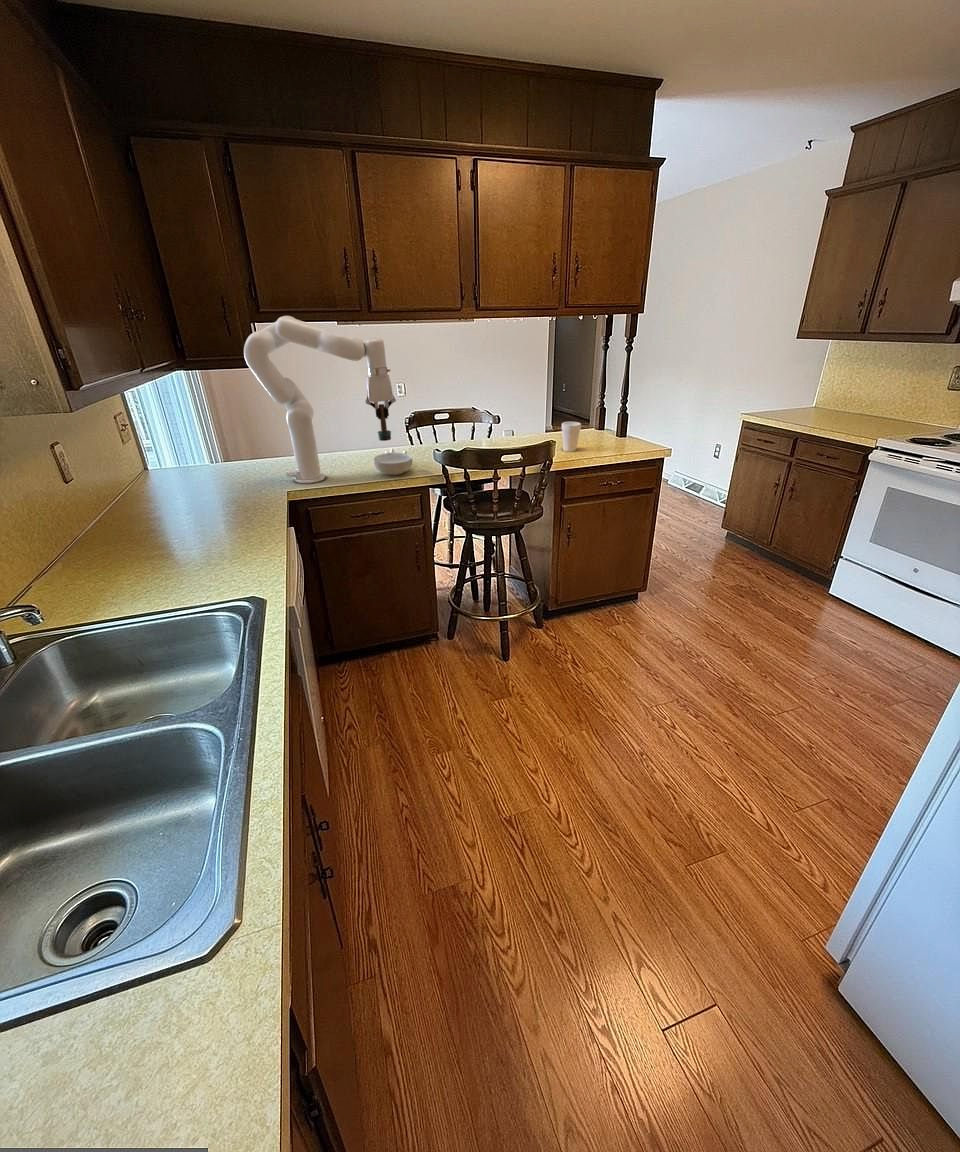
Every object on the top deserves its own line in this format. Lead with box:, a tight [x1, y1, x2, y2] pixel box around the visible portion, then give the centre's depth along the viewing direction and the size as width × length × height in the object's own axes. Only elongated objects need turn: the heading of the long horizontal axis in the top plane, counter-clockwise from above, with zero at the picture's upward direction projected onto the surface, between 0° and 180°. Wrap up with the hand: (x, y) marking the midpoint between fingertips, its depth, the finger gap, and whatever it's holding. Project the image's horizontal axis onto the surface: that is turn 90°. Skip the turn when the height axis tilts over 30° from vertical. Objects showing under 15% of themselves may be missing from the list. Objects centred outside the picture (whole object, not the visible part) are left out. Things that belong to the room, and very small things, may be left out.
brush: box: [377, 403, 392, 442], centre depth 219 cm, size 6×6×14 cm
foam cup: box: [561, 421, 582, 452], centre depth 259 cm, size 10×9×13 cm
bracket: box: [384, 447, 408, 454], centre depth 244 cm, size 13×7×8 cm, turn 20°
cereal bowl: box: [373, 452, 413, 476], centre depth 229 cm, size 17×17×7 cm
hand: (382, 418), depth 218 cm, fingers closed on brush, 2 cm apart
